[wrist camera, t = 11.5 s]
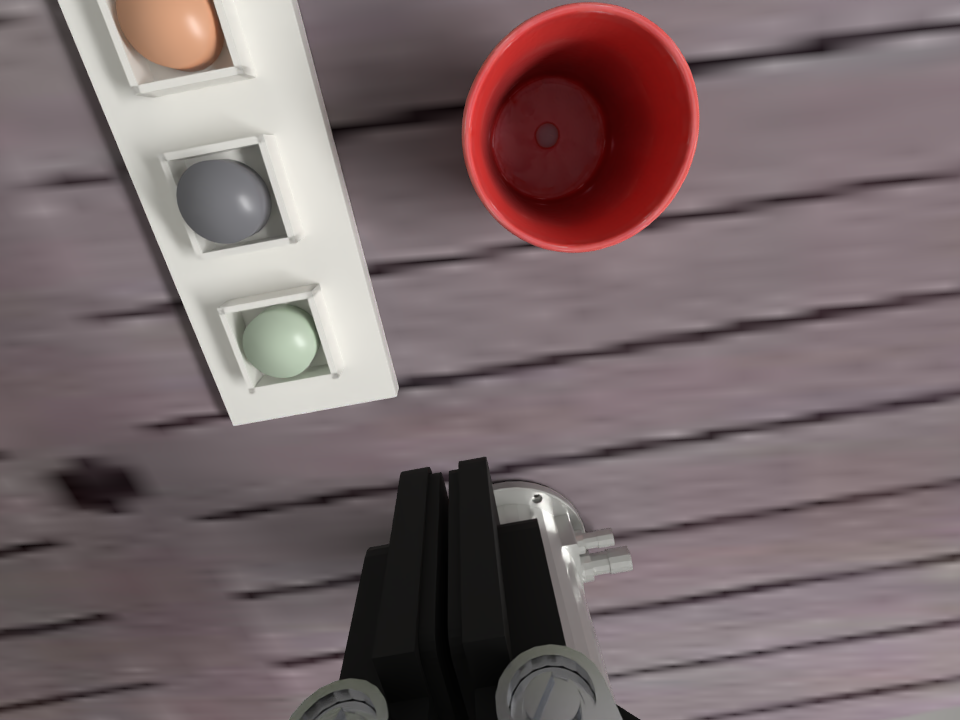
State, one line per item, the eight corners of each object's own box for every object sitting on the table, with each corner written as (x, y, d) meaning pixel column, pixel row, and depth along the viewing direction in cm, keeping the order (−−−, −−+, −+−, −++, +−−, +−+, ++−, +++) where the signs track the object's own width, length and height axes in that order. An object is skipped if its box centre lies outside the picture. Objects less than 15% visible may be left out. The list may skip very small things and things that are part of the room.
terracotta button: (206, -32, 27) (188, -45, 25) (236, 63, 29) (221, 58, 27) (124, -16, 27) (100, -27, 25) (158, 78, 29) (138, 74, 27)
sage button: (309, 298, 34) (301, 307, 32) (328, 359, 36) (322, 371, 34) (243, 310, 34) (232, 320, 32) (266, 371, 36) (256, 383, 34)
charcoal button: (256, 152, 30) (243, 153, 28) (281, 230, 31) (271, 236, 29) (181, 167, 30) (163, 168, 28) (209, 244, 31) (195, 250, 30)
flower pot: (485, 14, 30) (500, -40, 21) (659, 73, 32) (740, 46, 23) (441, 199, 34) (436, 219, 25) (598, 243, 36) (647, 278, 27)
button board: (264, -123, 27) (239, -158, 24) (398, 387, 39) (394, 409, 36) (42, -78, 28) (-12, -107, 24) (241, 416, 39) (222, 440, 36)
